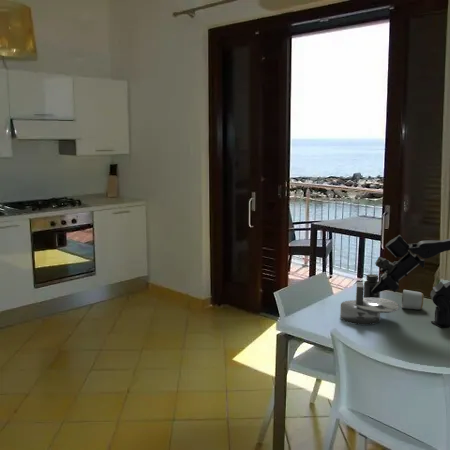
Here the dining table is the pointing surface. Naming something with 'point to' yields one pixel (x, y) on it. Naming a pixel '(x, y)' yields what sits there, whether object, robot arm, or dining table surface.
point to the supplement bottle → (371, 286)
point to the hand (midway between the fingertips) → (372, 292)
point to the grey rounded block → (412, 299)
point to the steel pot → (357, 314)
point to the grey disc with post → (373, 302)
